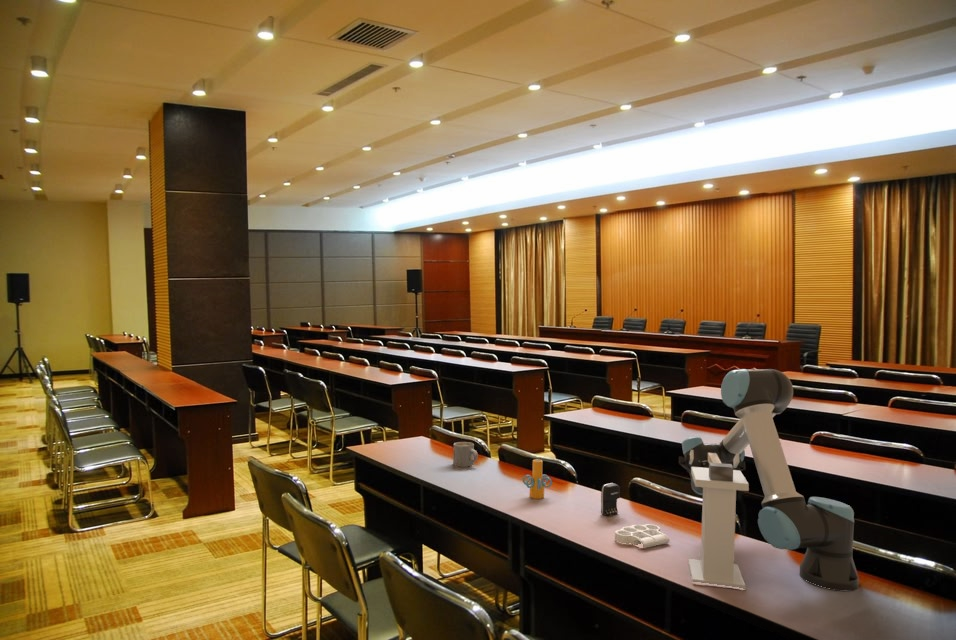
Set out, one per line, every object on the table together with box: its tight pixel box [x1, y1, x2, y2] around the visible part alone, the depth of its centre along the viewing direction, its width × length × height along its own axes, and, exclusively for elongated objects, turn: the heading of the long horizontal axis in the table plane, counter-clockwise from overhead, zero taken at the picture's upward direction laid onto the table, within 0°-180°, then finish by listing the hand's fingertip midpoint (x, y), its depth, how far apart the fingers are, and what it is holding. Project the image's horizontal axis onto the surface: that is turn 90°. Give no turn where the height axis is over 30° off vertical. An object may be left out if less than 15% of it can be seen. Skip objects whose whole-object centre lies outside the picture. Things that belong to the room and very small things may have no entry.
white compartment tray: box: [614, 523, 671, 549], centre depth 215 cm, size 3×18×15 cm
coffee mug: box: [452, 441, 479, 468], centre depth 309 cm, size 13×10×10 cm
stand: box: [688, 467, 750, 590], centre depth 186 cm, size 14×15×30 cm
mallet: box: [708, 453, 733, 482], centre depth 191 cm, size 6×24×4 cm, turn 166°
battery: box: [600, 482, 621, 517], centre depth 240 cm, size 7×4×11 cm, turn 123°
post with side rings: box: [522, 459, 553, 500], centre depth 260 cm, size 12×10×15 cm
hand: (714, 455), depth 197 cm, fingers open, 13 cm apart
